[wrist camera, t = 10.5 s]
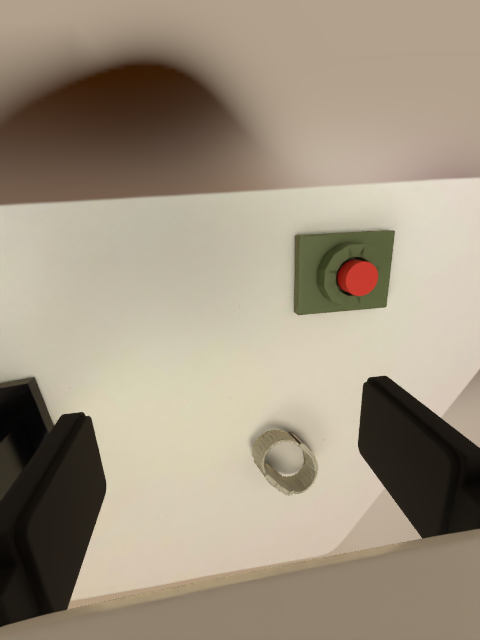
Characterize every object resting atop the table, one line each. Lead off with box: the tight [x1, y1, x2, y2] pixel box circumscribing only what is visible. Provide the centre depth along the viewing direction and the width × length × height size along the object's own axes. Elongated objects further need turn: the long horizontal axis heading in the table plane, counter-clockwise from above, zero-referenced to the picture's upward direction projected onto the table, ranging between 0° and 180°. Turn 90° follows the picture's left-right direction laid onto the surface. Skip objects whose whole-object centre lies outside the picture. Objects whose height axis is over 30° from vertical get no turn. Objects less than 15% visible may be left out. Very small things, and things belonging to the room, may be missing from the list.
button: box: [337, 260, 378, 296], centre depth 28 cm, size 3×3×2 cm
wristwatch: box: [252, 430, 318, 496], centre depth 35 cm, size 9×6×5 cm
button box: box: [294, 230, 395, 315], centre depth 30 cm, size 10×8×3 cm
